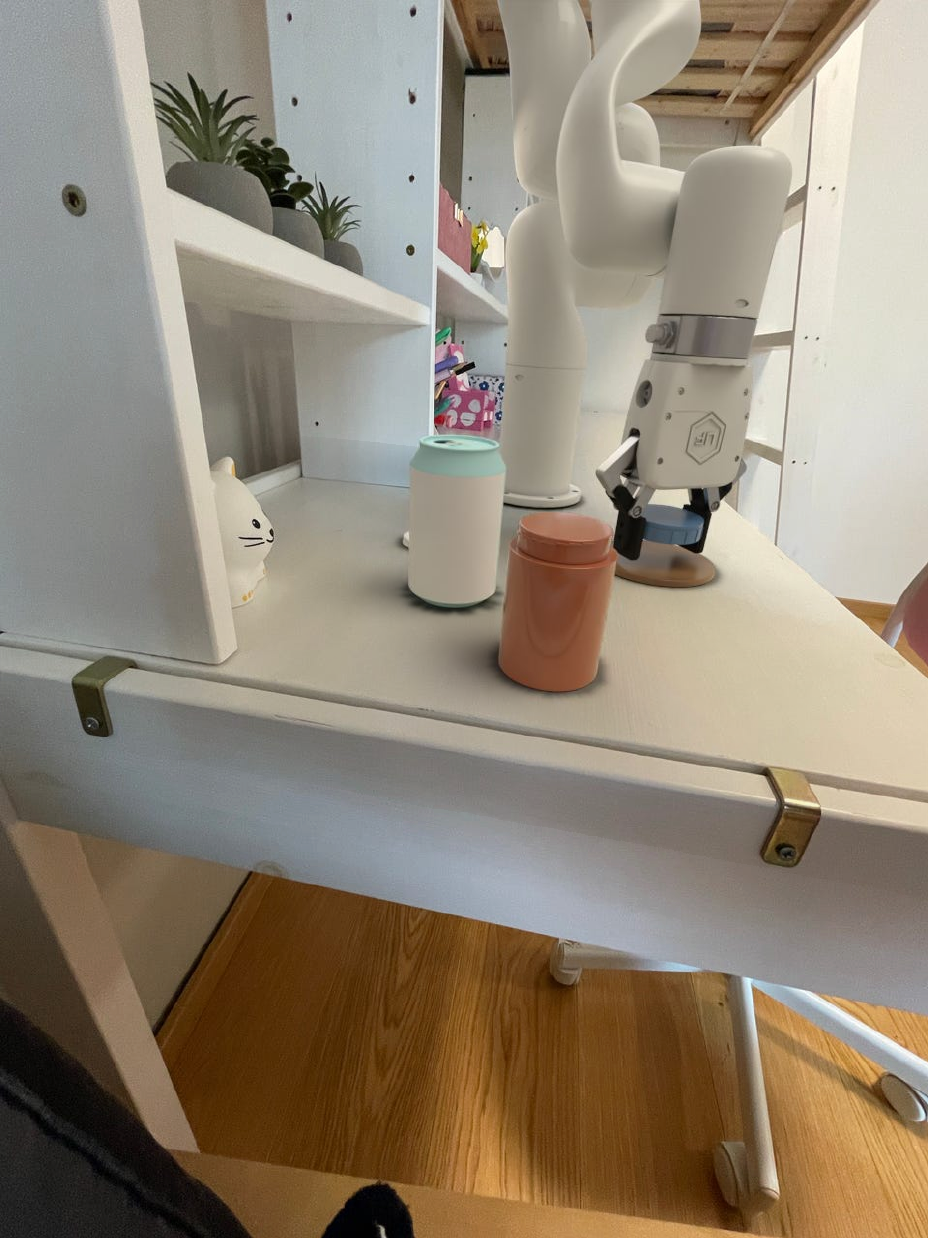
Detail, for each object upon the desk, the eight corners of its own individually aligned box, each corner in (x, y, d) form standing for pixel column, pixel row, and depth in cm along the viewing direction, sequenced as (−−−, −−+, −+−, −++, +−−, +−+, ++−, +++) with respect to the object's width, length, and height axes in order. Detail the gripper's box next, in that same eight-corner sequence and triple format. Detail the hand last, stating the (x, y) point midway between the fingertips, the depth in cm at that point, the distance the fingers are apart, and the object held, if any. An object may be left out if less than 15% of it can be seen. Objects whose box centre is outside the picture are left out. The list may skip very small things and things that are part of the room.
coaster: (575, 547, 59) (576, 542, 59) (668, 542, 62) (669, 536, 62) (634, 591, 50) (636, 585, 49) (740, 582, 53) (742, 576, 53)
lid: (713, 545, 52) (718, 527, 51) (641, 544, 51) (645, 525, 50) (679, 521, 58) (683, 504, 57) (613, 520, 57) (617, 502, 56)
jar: (484, 645, 40) (495, 511, 36) (569, 636, 42) (589, 507, 38) (520, 697, 34) (537, 546, 30) (615, 684, 36) (644, 540, 32)
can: (399, 606, 45) (400, 445, 39) (417, 572, 51) (420, 429, 45) (491, 616, 44) (505, 453, 39) (498, 580, 50) (511, 436, 45)
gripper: (643, 340, 41) (603, 575, 49) (817, 350, 47) (756, 557, 55) (584, 336, 47) (557, 546, 55) (745, 346, 54) (700, 533, 61)
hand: (657, 550), depth 55 cm, fingers closed on lid, 6 cm apart
